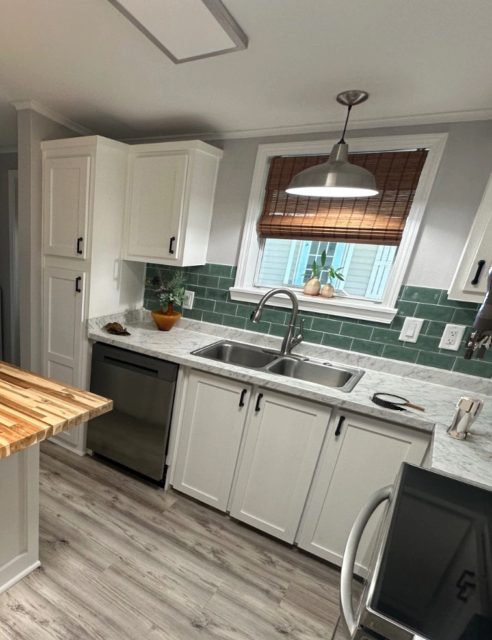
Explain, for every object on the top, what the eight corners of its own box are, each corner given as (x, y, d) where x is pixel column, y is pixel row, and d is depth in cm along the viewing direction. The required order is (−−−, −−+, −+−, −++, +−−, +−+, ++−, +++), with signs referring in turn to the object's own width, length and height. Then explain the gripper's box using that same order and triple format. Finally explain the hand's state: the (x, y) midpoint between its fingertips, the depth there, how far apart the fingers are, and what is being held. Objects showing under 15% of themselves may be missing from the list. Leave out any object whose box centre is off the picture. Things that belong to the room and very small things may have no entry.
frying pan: (429, 416, 169) (433, 407, 167) (410, 420, 164) (414, 410, 162) (383, 399, 186) (385, 390, 184) (364, 402, 180) (367, 393, 179)
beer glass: (443, 429, 156) (459, 393, 150) (466, 435, 152) (484, 399, 147) (444, 436, 151) (461, 399, 145) (468, 442, 147) (486, 405, 141)
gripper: (492, 319, 146) (474, 362, 152) (512, 318, 152) (494, 360, 157) (467, 315, 152) (451, 357, 158) (487, 314, 158) (471, 355, 164)
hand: (473, 358), depth 158 cm, fingers open, 8 cm apart
